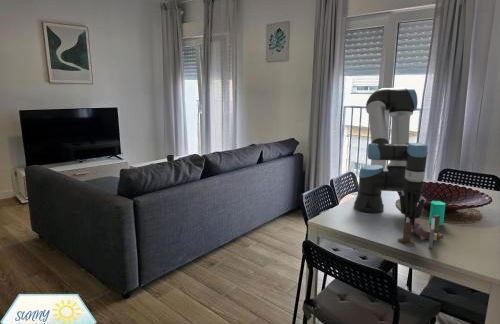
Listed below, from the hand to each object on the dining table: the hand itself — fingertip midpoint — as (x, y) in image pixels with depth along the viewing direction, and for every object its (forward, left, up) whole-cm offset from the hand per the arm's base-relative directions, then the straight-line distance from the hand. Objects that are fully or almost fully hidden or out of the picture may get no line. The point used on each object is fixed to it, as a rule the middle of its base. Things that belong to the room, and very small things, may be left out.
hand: (408, 231), depth 148 cm
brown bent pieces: (+5, +1, -2) cm, 6 cm away
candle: (-3, +22, -2) cm, 23 cm away
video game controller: (+2, +4, -2) cm, 5 cm away
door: (+10, +3, -1) cm, 10 cm away
